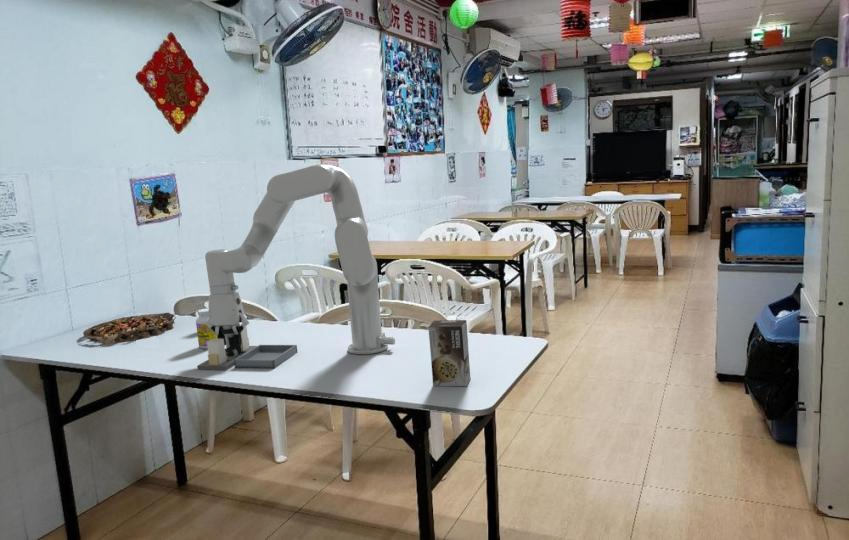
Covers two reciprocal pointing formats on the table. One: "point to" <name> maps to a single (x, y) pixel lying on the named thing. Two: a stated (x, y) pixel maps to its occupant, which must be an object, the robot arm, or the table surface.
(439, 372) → the printed cardboard box
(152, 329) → the food dish
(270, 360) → the tray
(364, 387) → the table surface
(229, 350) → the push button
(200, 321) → the supplement bottle
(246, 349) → the block
